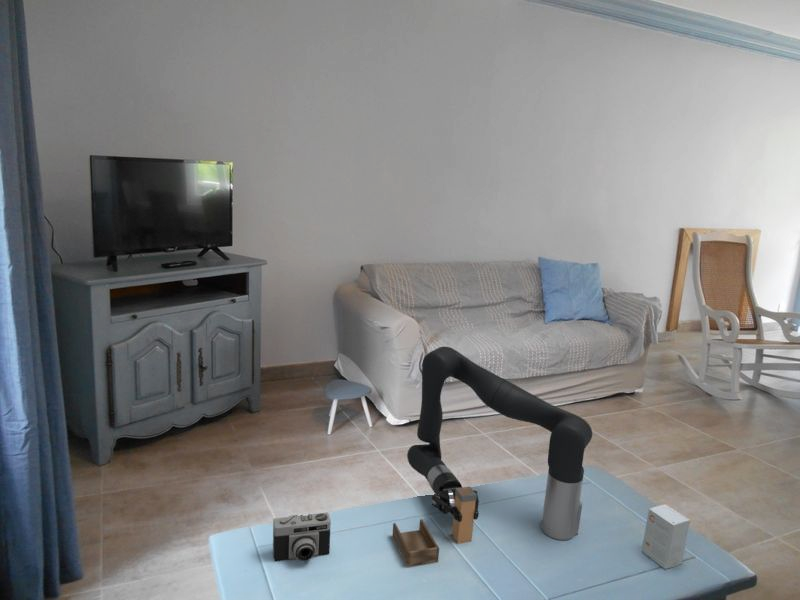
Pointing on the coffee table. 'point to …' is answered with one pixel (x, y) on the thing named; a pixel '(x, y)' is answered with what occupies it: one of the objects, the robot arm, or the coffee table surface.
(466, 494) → the brown tall square block
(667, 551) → the small box
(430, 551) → the walnut box
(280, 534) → the camera
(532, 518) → the coffee table surface
